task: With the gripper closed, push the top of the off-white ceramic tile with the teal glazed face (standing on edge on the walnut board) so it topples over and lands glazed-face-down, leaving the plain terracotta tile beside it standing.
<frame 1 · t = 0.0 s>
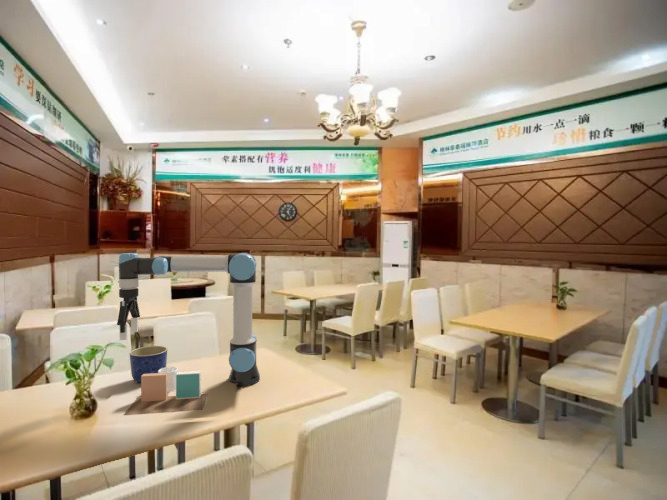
hand: (129, 335, 166), 28 cm above the table, fingers open, 13 cm apart
planter: (149, 381, 187), on the table
tile plain: (154, 399, 163), point 1 cm above the table, touching board
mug: (163, 392, 174), on the table
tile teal: (188, 397, 165), point 1 cm above the table, touching board
board: (168, 406, 159), on the table
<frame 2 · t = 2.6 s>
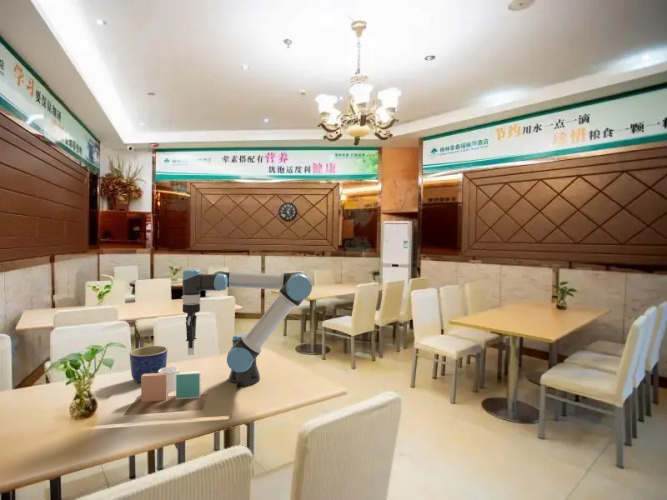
hand: (191, 354, 172), 18 cm above the table, fingers closed
nothing on the table moved.
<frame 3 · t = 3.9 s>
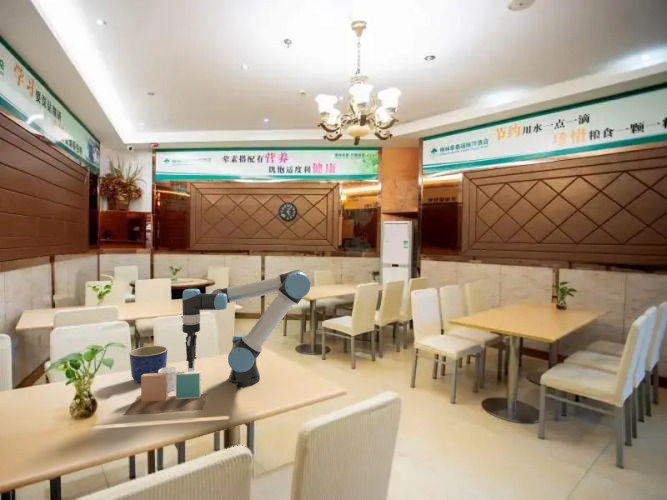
hand: (191, 374, 172), 9 cm above the table, fingers closed
nothing on the table moved.
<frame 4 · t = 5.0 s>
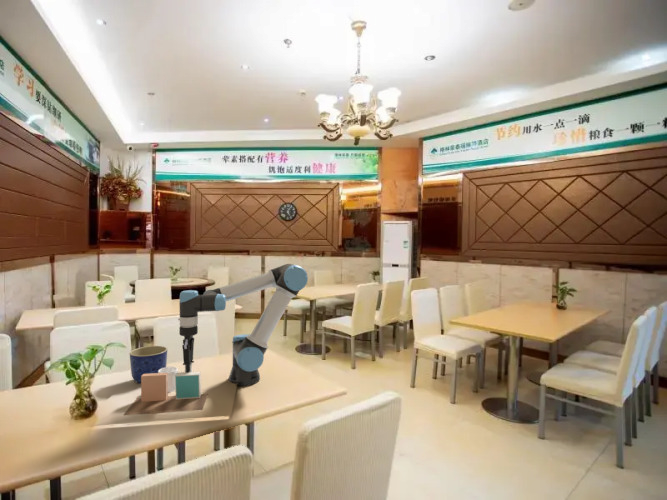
hand: (188, 378, 166), 9 cm above the table, fingers closed
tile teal: (188, 396, 165), point 1 cm above the table, tilted 7°, touching board
everything else where it was.
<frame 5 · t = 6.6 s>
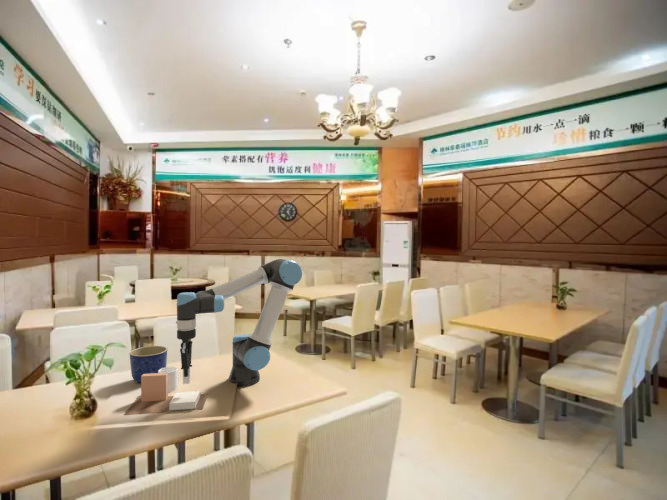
hand: (186, 383, 161), 9 cm above the table, fingers closed
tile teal: (187, 394, 164), point 3 cm above the table, tilted 90°, touching board
everything else where it was.
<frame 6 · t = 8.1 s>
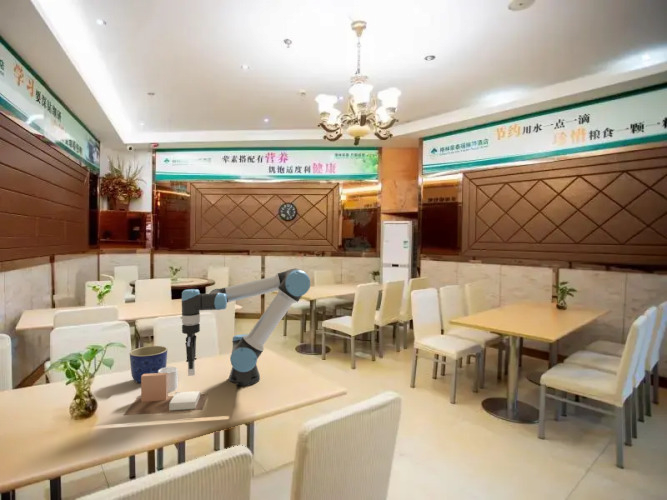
hand: (191, 375, 170), 9 cm above the table, fingers closed
nothing on the table moved.
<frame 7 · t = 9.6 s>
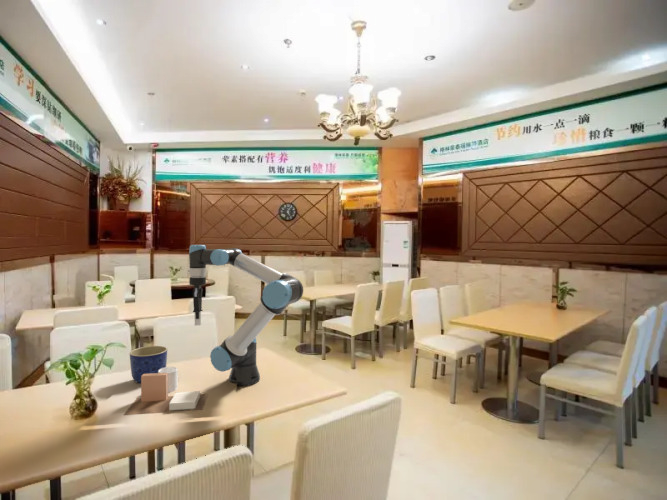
hand: (197, 325, 182), 29 cm above the table, fingers closed
nothing on the table moved.
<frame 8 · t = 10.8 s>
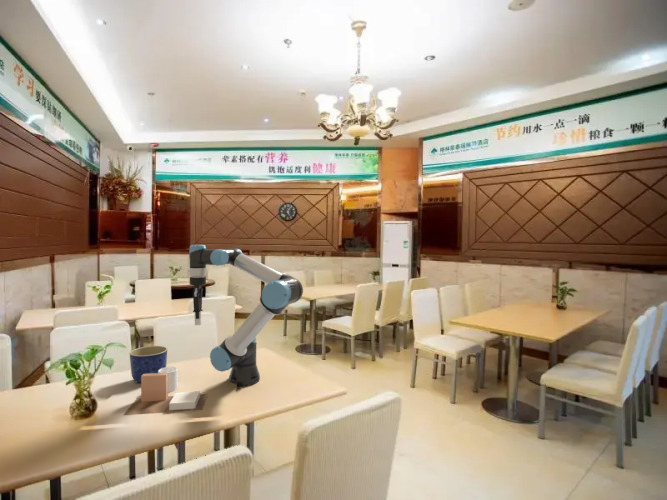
hand: (197, 324, 182), 29 cm above the table, fingers closed
nothing on the table moved.
at the end: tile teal tilted 90°; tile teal inside the target area (2.4 cm from its centre), point 2.9 cm above the table; tile plain tilted 0° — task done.
